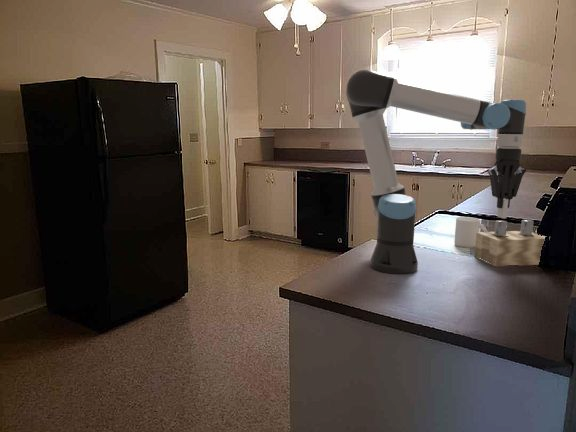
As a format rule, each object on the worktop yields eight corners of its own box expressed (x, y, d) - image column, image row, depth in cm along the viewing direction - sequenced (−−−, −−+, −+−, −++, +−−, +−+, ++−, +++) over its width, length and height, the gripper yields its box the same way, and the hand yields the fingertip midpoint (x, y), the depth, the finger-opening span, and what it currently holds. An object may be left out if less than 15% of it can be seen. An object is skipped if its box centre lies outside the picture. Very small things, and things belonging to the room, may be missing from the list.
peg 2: (523, 247, 150) (526, 221, 149) (516, 244, 154) (519, 219, 152) (533, 246, 151) (536, 221, 149) (525, 244, 154) (528, 219, 153)
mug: (483, 250, 164) (485, 223, 162) (451, 245, 172) (453, 219, 170) (489, 246, 171) (492, 219, 169) (458, 241, 178) (460, 215, 176)
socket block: (494, 266, 145) (497, 240, 143) (474, 256, 157) (476, 232, 155) (548, 264, 148) (551, 238, 146) (524, 254, 160) (527, 230, 158)
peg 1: (497, 248, 149) (499, 222, 147) (490, 245, 152) (493, 220, 150) (506, 247, 149) (509, 222, 148) (500, 245, 153) (502, 220, 151)
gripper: (498, 148, 140) (491, 220, 144) (534, 148, 142) (526, 219, 146) (484, 147, 147) (478, 215, 151) (519, 147, 149) (511, 215, 153)
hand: (501, 217), depth 149 cm, fingers closed
